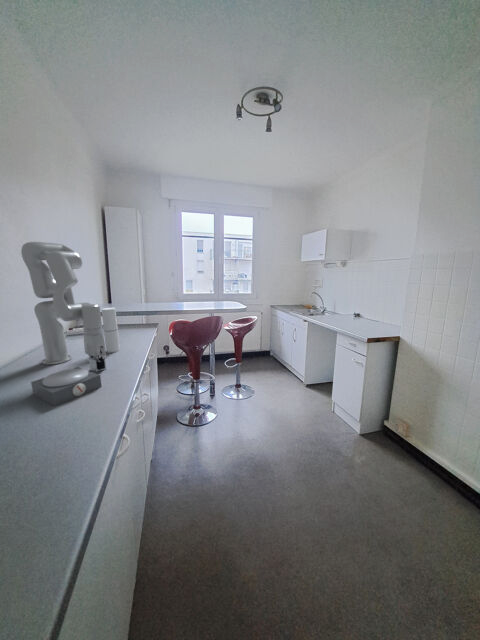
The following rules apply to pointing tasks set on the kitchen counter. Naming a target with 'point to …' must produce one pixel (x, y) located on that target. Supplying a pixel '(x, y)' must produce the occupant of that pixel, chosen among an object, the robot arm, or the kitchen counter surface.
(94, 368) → the steel spacer
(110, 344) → the cylindrical container
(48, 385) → the kitchen scale
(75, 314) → the robot arm
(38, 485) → the kitchen counter surface
